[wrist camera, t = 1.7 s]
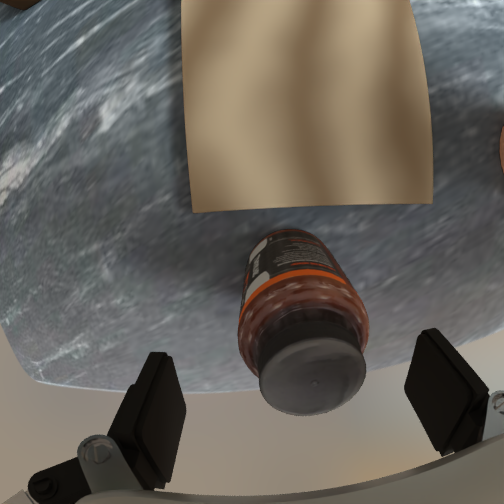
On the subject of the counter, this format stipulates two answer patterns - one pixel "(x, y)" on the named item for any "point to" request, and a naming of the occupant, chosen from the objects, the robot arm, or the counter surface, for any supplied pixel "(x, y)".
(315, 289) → the supplement bottle
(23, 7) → the beer bottle
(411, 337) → the counter surface
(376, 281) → the counter surface
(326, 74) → the birch board
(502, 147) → the pepper shaker
